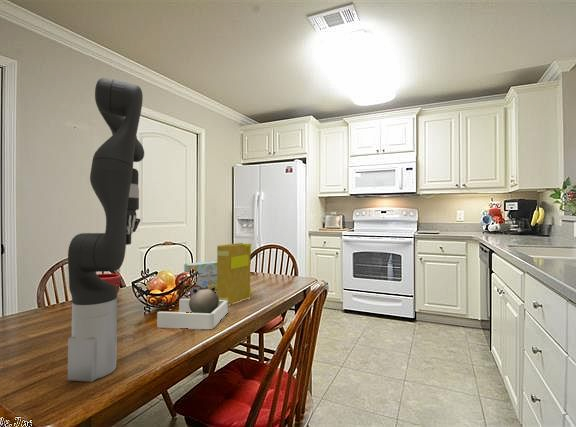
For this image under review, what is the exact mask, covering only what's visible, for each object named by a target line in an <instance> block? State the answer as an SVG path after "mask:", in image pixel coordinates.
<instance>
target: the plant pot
mask: <svg viewBox="0 0 576 427" xmlns="http://www.w3.org/2000/svg"><path fill="white" fill-rule="evenodd" d="M96 274H97V276H98V277H99V278H101V279H102V280H104V281H106V282H108V283H111V284H113V285H115V286H116V287H117V295H118V293H119V290H120V286H121V282H122V281H121V280H122V275H121V274H120V273H119V274H118V273H96ZM117 300H119V299H118V297H117Z"/></svg>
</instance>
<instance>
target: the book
mask: <svg viewBox="0 0 576 427" xmlns="http://www.w3.org/2000/svg"><path fill="white" fill-rule="evenodd" d="M216 247H217V248H216V255H217V256H216V261H217V292H216V294H217V295H218V298H219V300H228V305H229V304H232V303H234V302H237V301H240V300H242V299H246V298H249V297H251V298H252V288H251V255H252V243H243V242H237V243H236V242H235V243H230V244H229V243H228V244H220V245H217V246H216Z"/></svg>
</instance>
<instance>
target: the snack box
mask: <svg viewBox="0 0 576 427" xmlns="http://www.w3.org/2000/svg"><path fill="white" fill-rule="evenodd" d="M183 266H184V267H183V270H184V271H183V274H184V273H185V272H190V270H191V269H193V270H194V271H195V272H196V271H198V273H199V274H198V277H197V282H196V284H195V285H194V286H193V288H192V289H191V291H190V294H189V296H192V294H193V293H194V292H193V290H194V289H197V291H198V290H201V289H212V288H214V287H215V290H214V291H217V260H212V261H199V262H190V263H184V265H183Z"/></svg>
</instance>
